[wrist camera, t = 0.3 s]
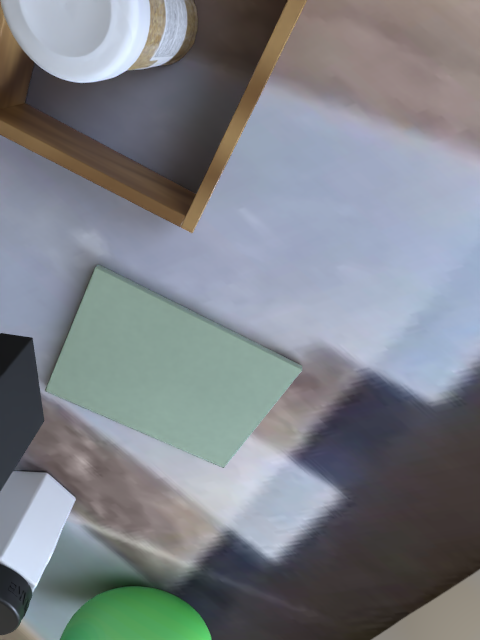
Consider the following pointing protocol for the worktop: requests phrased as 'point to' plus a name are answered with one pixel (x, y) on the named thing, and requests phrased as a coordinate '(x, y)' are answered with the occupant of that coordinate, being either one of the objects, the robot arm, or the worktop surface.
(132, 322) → the mat
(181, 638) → the toy bird
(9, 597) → the jar
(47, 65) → the spice bottle
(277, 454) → the worktop surface
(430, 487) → the worktop surface
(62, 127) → the wooden tray
